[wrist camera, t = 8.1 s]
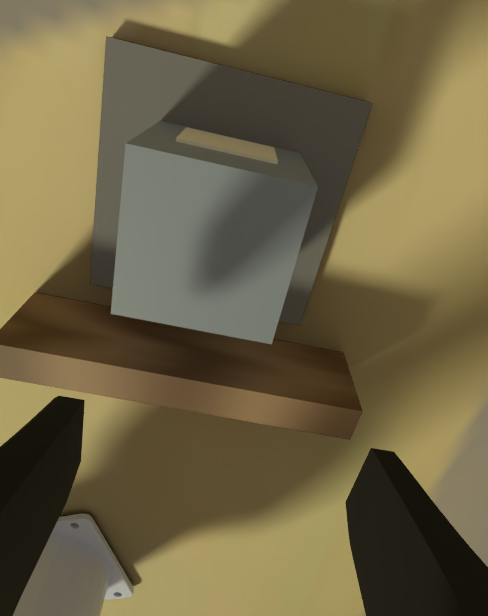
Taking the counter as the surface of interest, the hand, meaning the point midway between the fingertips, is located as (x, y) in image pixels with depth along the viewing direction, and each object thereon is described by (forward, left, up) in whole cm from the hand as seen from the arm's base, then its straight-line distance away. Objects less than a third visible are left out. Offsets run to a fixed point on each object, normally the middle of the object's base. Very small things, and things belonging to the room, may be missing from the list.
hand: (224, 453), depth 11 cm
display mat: (0, +4, -9) cm, 10 cm away
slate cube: (0, +4, -9) cm, 9 cm away
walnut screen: (-2, -2, -9) cm, 10 cm away
